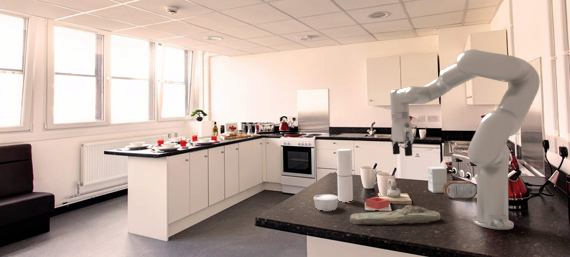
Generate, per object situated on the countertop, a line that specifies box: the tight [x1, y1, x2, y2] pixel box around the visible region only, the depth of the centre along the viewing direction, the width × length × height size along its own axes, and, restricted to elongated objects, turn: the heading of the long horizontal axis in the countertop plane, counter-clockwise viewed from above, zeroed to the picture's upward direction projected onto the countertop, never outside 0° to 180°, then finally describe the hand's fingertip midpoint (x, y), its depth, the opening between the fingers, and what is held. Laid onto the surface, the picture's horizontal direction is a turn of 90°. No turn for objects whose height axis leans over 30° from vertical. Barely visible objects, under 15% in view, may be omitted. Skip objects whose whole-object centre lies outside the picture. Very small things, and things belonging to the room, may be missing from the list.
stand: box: [377, 180, 413, 205], centre depth 151 cm, size 14×14×9 cm
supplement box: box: [427, 166, 448, 194], centre depth 165 cm, size 7×7×13 cm
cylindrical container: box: [336, 148, 354, 203], centre depth 153 cm, size 7×7×25 cm
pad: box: [364, 201, 392, 212], centre depth 140 cm, size 11×11×1 cm
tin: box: [443, 180, 477, 200], centre depth 150 cm, size 15×3×8 cm, turn 84°
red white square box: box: [365, 196, 390, 209], centre depth 140 cm, size 7×7×3 cm
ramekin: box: [313, 193, 339, 212], centre depth 141 cm, size 11×11×5 cm
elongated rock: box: [349, 204, 441, 226], centre depth 122 cm, size 35×5×10 cm
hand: (402, 155), depth 140 cm, fingers open, 9 cm apart
